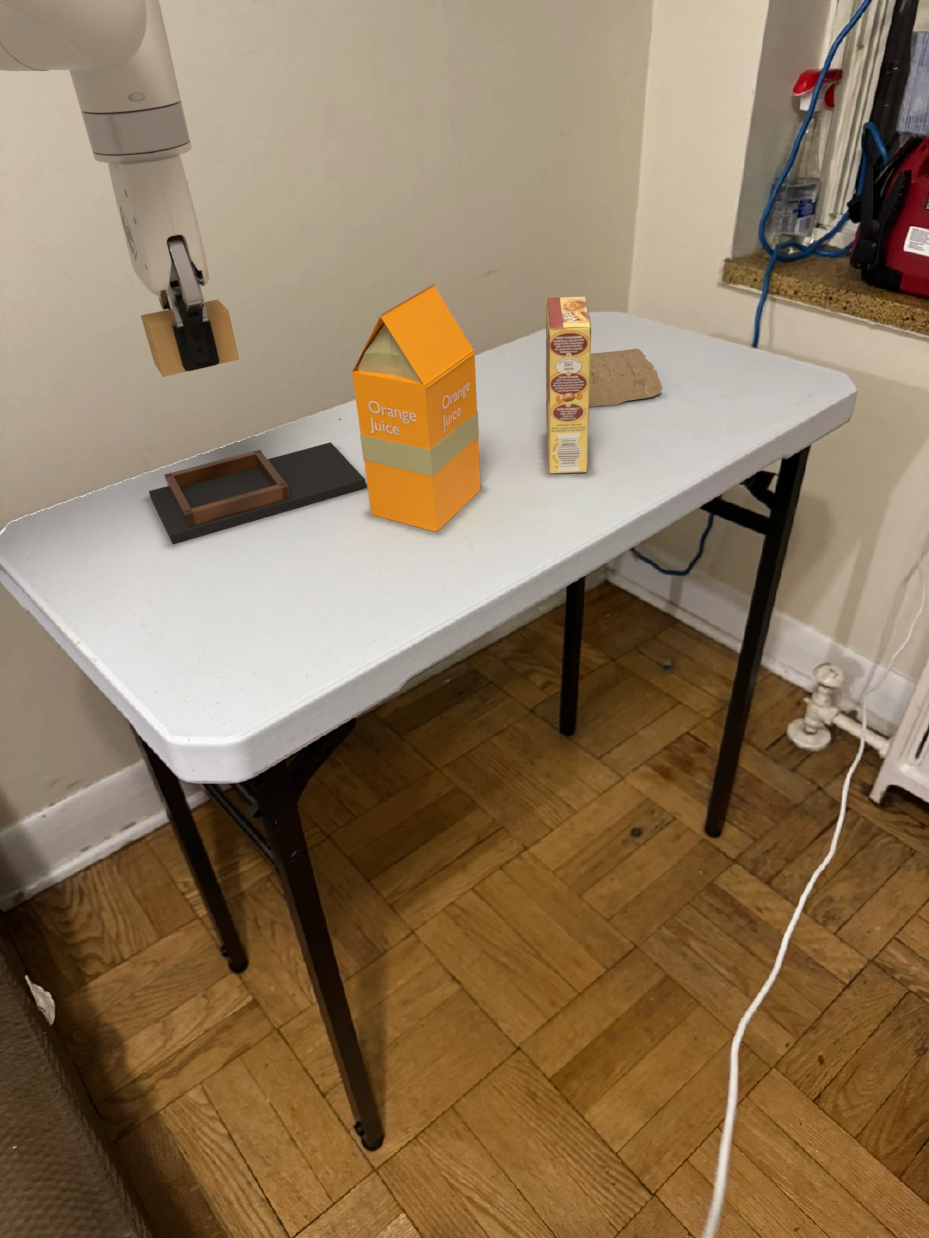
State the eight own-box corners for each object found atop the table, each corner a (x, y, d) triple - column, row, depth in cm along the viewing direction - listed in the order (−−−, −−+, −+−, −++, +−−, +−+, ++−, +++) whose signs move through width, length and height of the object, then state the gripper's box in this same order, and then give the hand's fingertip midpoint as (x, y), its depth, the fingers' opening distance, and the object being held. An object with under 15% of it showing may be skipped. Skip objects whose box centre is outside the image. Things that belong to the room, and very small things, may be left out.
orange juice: (482, 490, 87) (473, 288, 75) (437, 532, 82) (420, 321, 69) (416, 474, 91) (397, 278, 78) (369, 514, 85) (340, 309, 72)
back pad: (172, 544, 82) (165, 522, 81) (150, 499, 89) (144, 477, 88) (366, 487, 89) (363, 466, 87) (332, 450, 96) (328, 429, 95)
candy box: (588, 474, 89) (594, 326, 79) (547, 475, 89) (548, 327, 80) (582, 435, 96) (587, 294, 86) (544, 436, 96) (545, 296, 87)
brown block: (239, 359, 79) (228, 310, 76) (163, 377, 77) (148, 327, 74) (228, 347, 82) (217, 299, 79) (154, 364, 79) (140, 315, 77)
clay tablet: (665, 397, 102) (667, 375, 101) (582, 407, 101) (583, 385, 100) (625, 353, 114) (626, 333, 112) (551, 362, 113) (551, 342, 111)
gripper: (73, 125, 72) (137, 341, 84) (107, 156, 61) (175, 401, 72) (163, 114, 75) (213, 324, 86) (212, 141, 63) (262, 380, 75)
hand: (195, 357), depth 79 cm, fingers closed on brown block, 3 cm apart
